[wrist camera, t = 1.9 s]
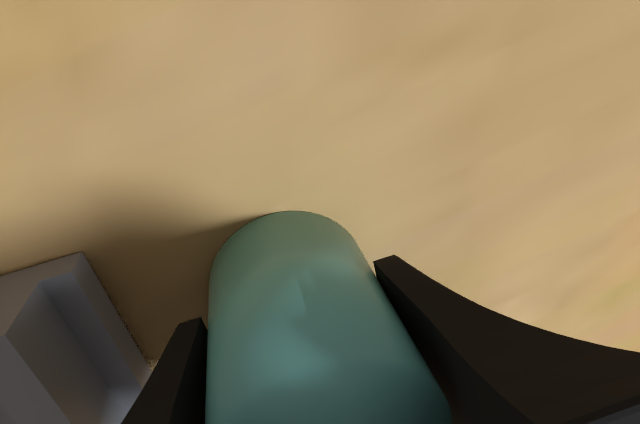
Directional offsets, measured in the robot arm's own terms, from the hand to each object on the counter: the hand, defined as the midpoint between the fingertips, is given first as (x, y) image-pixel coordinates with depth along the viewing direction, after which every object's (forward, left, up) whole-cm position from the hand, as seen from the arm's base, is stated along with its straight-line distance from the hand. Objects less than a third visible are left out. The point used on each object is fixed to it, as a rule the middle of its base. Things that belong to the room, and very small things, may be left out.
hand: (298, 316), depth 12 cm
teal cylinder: (0, 0, -2) cm, 2 cm away
